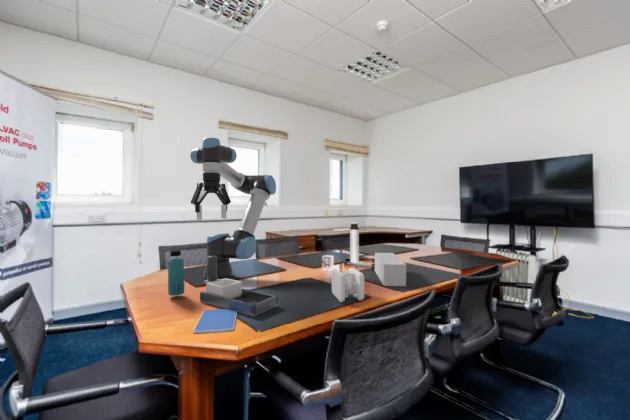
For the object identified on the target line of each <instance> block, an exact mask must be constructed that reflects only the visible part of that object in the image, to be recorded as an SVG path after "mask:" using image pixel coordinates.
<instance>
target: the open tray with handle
mask: <svg viewBox="0 0 630 420" xmlns="http://www.w3.org/2000/svg"><path fill="white" fill-rule="evenodd" d="M206 265H207V279H205V280H204V281H203V282H204V284H205V292H207V293H211V294H215V295H219V296H222V297H226V298H230V299H234V298H237V297H240V296H242V288H243V281H242V280H241V281H240V280H236V279H232V278H224V279H217V256H207V255H206Z"/></svg>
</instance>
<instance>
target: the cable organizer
mask: <svg viewBox="0 0 630 420" xmlns="http://www.w3.org/2000/svg"><path fill="white" fill-rule="evenodd" d="M331 292H332V294H333V296H334V297H335V298H337V300H338V302H339V303H343V302H345V301H346V298H347V299H348V298H349V296H348V295H352V296H353V298H356V299H357V300H358V301H359V302H360V301H363V300H364V299H365V275H364V274H363V273H362V272H361V271H359V270H358V269H356V268H354V267H349V268H348V270H347V272H341V271H340V270H338V269H337V268H332V269H331Z"/></svg>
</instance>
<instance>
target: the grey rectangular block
mask: <svg viewBox="0 0 630 420" xmlns="http://www.w3.org/2000/svg"><path fill="white" fill-rule="evenodd" d="M374 272H375V273H376V276H377V278H378V279H379V280H380V282H381V284H382V285H383V286H384V287H407V264H406V263H405V262H404V261H403V260H402V259H400V257H399V256H397V255H396V254H395V253H394V252H374Z"/></svg>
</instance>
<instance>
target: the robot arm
mask: <svg viewBox="0 0 630 420" xmlns="http://www.w3.org/2000/svg"><path fill="white" fill-rule="evenodd" d="M237 155H238V154H237V152H236V149H234V148H232V147H230V146H226V145H221V141H220V139H219V138H217V137H204V138H203V139H202V146H201V147H197V148H193V149H192V150H191V152H190V160H191V162H193V163H194V164H197V165H198V164H199V165H200V164H201V165H202V171H203V173H202V181H203V182H197V183H196V188H195V191H194V193H193V195H192V198H191V200H190V204H193V206H194V212H195V213H196V221H203V205H202V202H203V201H204V199H205V198H206V197H207V196H208V194H215V195H216V196H217V197H218V200H219V201H220V202H221V203H222V204H221V205H220V206H221V207H220V209H221V210H220V211H221V213H220V215H221V217H220V218H221V219H227V212H228V205H230V204H231V203H232V201H231V199H230V196H229V194H228V192H227V191H228V190H227V189H226V184H225V183H220V181H221V178H222V179H223V180H225V181H227V182H228V183H230V186H231V187H233V188H234V189H236V190H237V191H239V192H241V193H243V194H245V195H250V198H249V200H248V203H247V206H246V208H245V210H244V214H243V216H242V218H241V222H240V224H239V226H238V229H235V230H234V231H233V234H232V235H230V233H229V232H225V233H218V234H217V233H215V234H210V235H208V236H207V238H206V257H207V256H217V279H224V278H227V279H231V277H233V276H234V270H233V269H232V265H231V263H230V259H235V260H248V259H251V258H253V256H254V255H255V254H256V252H257V251H256V250H257V248H258V247H257V240H256V236H255V235H254V234H255V231H256V229H257V226H258V222H259V220H260V217H261V214H262V211H263V208H264V206H265V203H266V201H269V199H270V197H271V196H272V195H275V194H276V193H277V192H276V191H277V184H276V179H275V178H274V176H272V175H270V174H264V175H263V174H261V175H260V174H259V175H258V174H257V175H249V174H244V173H242V172H238V171H237V170H235V169H234V168H232V166H230V165H229V164H231V163H234V162H235V161H236V160H237ZM205 278H206V279H205ZM203 279H205V280H207V264H206V266H205V269H204V272H203Z"/></svg>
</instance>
